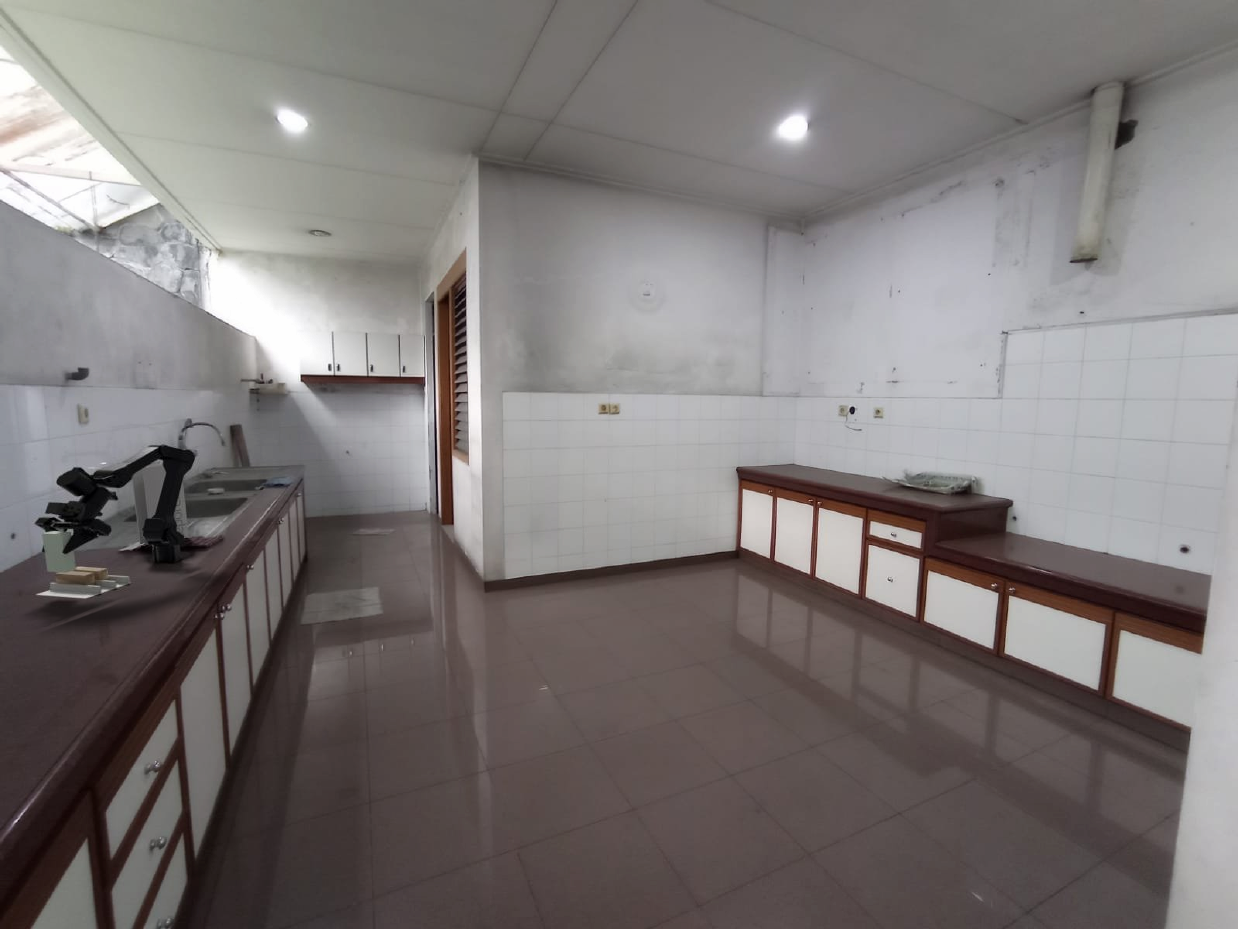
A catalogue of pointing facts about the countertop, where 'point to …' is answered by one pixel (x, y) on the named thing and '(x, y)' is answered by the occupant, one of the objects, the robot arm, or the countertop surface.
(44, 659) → the countertop surface
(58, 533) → the sage green block
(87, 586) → the rack
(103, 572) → the offcut front
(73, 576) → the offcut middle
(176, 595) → the countertop surface
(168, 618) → the countertop surface
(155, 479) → the white cardboard box
